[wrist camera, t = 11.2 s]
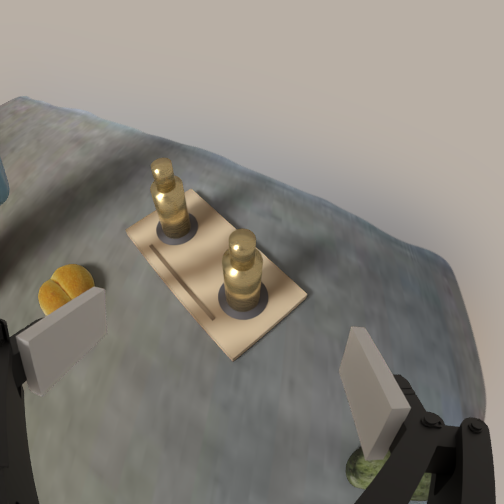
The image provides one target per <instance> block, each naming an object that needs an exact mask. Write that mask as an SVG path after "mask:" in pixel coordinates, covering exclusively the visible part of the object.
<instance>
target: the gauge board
mask: <svg viewBox="0 0 504 504" xmlns="http://www.w3.org/2000/svg"><path fill="white" fill-rule="evenodd" d="M184 194H185V199H186V204H187V209H188V214H189V219H190V223H191V228H190V231H189V232H188V233H187V234H186V235H185V236H184V237H181V238H178V239H172V238H169V237H167V236H166V235H165V234H164V232H163V229H162V226H161V223H160V220H159V217H158V214H157V210H155V211H154V212H152V213H151V214H149V215H148V216H146V217H144V218H143V219H141V220H140V221H138V222H137V223H135V224H134V225H132V226H131V227H129V228H128V229H126V232H127V234H128V236H129V237H130V238H131V240H132V241H133V242H134V244H135V245H136V246H137V248H138V249H139V250H140V252H141V253H142V254H143V256H144V257H145V258H146V260H147V261H148V262H149V263H150V265H151V266H152V267H153V269H154V270H155V271H156V272H157V274H158V275H159V276H160V277H161V279H162V280H163V281H164V282H165V284H166V285H167V286H168V287H169V289H170V290H171V291H172V292H173V293H174V295H175V296H176V297H177V298H178V299H179V301H180V302H181V303H182V304H183V305H184V307H185V308H186V309H187V310H188V311H189V313H190V314H191V315H192V316H193V317H194V318H195V320H196V321H197V322H198V323H199V324H200V325H201V327H202V328H203V329H204V330H205V331H206V332H207V333H208V335H209V336H210V337H211V338H212V339H213V340H214V341H215V342H216V344H217V345H218V346H219V347H220V348H221V349H222V350H223V351H224V352H225V354H226V355H227V356H228V357H229V358H230V359H231V360H232V361H234V360H236V359H237V358H238V357H239V356H240V355H242V354H243V353H244V352H245V351H246V350H248V349H249V348H250V347H251V346H252V345H254V344H255V343H256V342H257V341H258V340H259V339H261V338H262V337H263V336H264V335H265V334H266V333H268V332H269V331H270V330H271V329H272V328H273V327H274V326H276V325H277V324H278V323H279V322H280V321H281V320H282V319H284V318H285V317H286V316H287V315H288V314H289V313H290V312H291V311H292V310H294V309H295V308H296V307H297V306H298V305H299V304H300V303H301V302H302V301H304V300H305V299H306V297H307V293H306V292H304V291H303V290H302V289H301V288H300V287H299V286H298V285H297V284H296V283H295V282H294V281H292V280H291V279H290V278H289V277H288V276H287V275H286V274H285V273H284V272H283V271H281V270H280V269H279V268H278V267H277V266H276V265H275V264H274V263H273V262H272V261H271V260H269V259H268V258H267V257H266V256H265V255H264V254H263V253H262V252H261V251H260V250H259V252H260V253H261V255H262V257H263V268H262V278H261V288H260V298H259V302H258V304H257V306H256V307H255V308H254V309H252V310H250V311H247V312H238V311H235V310H233V309H232V308H231V307H230V306H229V305H228V303H227V301H226V294H225V286H224V277H223V268H222V257H223V255H224V253H225V251H226V250H227V249H229V236H230V234H231V233H232V232H233V231H235V230H236V229H235V228H234V227H233V226H232V225H231V224H230V223H229V222H228V221H226V220H225V219H224V218H223V217H222V216H221V215H220V214H219V213H218V212H217V211H215V210H214V209H213V208H212V207H211V206H210V205H209V204H208V203H207V202H205V201H204V200H203V199H202V198H201V197H200V196H199V195H198V194H197V193H195V192H194V191H193V190H192V189H190V190H188V191H186V192H185V193H184ZM256 249H257V248H256Z"/></svg>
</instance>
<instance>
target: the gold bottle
mask: <svg viewBox="0 0 504 504" xmlns="http://www.w3.org/2000/svg"><path fill="white" fill-rule="evenodd" d="M151 170H152V173H153V177H154V182H153V183H152V185H151V188H150V191H151V194H152V197H153V201H154V204H155V207H156V210H157V214H158V217H159V220H160V223H161V226H162V229H163V232H164V234H165V235H166V236H167V237H169V238H172V239H178V238H181V237H184V236H185V235H186V234H187V233H188V232H189V231H190V228H191V223H190V219H189V214H188V209H187V204H186V199H185V194H184V189H183V184H182V180H181V179H180V178H179V177H177V176H174V173H173V168H172V163H171V160H170V159H168V158H159V159H156V160H155V161H153V162H152V164H151Z"/></svg>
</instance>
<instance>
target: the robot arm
mask: <svg viewBox="0 0 504 504" xmlns="http://www.w3.org/2000/svg"><path fill="white" fill-rule="evenodd" d="M8 195H9V184H8V180H7V176H6V173H5V170H4V167H3V164H2V161H1V158H0V205H1V204H3V203H4V202H5V201H6V199H7V198H8ZM106 334H107V319H106V300H105V289H103V288H98V287H92V288H91V289H89V290H87V291H86V292H84V293H82V294H81V295H79V296H78V297H76V298H74V299H73V300H71V301H70V302H68V303H66V304H65V305H63V306H62V307H60V308H58V309H57V310H55V311H54V312H52V313H51V314H49V315H47V316H46V317H44V318H41V319H38V320H36V321H34V322H32V323H31V324H30V325H28V326H26V327H25V329H24V328H23V329H22V330H20V331H19V332H17V333H16V334H14V335H12V336H11V337H9V333H8V328H7V323H6V321H5V320H3V319H0V504H39V501H38V496H37V492H36V488H35V483H34V478H33V473H32V467H31V461H30V454H29V447H28V440H27V431H26V420H25V406H24V390H23V387H22V384H23V383H24V382H25V381H26V380H27V383H28V387H29V390H30V391H31V392H33V393H35V394H37V395H39V396H41V397H43V396H44V395H45V394H46V393H47V392H48V391H49V390H50V389H51V388H52V387H53V386H54V385H55V384H56V383H57V382H58V381H59V380H60V379H61V378H62V377H63V376H64V375H65V374H66V373H67V372H68V371H69V370H70V369H71V368H72V367H73V366H74V365H75V364H76V363H77V362H78V361H79V360H80V359H81V358H82V357H83V356H84V355H85V354H86V353H88V352H89V351H90V350H91V349H92V348H93V347H94V346H95V345H96V344H97V343H98V342H99V341H100V340H101V339H102V338H103V337H104V336H105V335H106ZM339 373H340V377H341V380H342V383H343V386H344V389H345V393H346V396H347V399H348V402H349V406H350V409H351V412H352V416H353V419H354V422H355V426H356V429H357V433H358V436H359V440H360V443H361V447H362V450H363V454H364V457H365V461H367V460H382V459H384V457H385V455H386V454H387V452H388V450H390V453H391V455H390V457H389V458H388V459H387V461H386V462H385V464H384V465H383V467H382V468H381V470H380V471H379V472H378V474H377V475H376V476H375V478H374V479H373V480H372V482H371V483H370V484H369V486H368V487H367V488H366V490H365V491H364V492H363V493H362V495H361V496H360V497H359V498H358V500H357V501H356V502H355V503H354V504H408V503H409V501H410V499H411V498H412V496H413V494H414V492H415V490H416V489H417V487H418V485H419V483H420V481H421V479H422V477H423V475H424V473H432V474H431V482H430V488H429V495H428V501H427V504H496V496H495V478H494V465H493V455H492V447H491V440H490V434H489V429H488V426H487V425H486V424H485V423H484V422H483V421H481V420H480V419H477V418H470V417H469V418H466V419H465V420H463V422H462V423H461V425H460V427H455V426H447V425H445V424H444V421H443V420H442V419H441V418H440V417H439V416H438V415H436V414H434V413H431V412H426V410H425V409H424V407H423V405H422V404H421V402H420V400H419V399H418V397H417V395H415V392H414V390H413V389H412V387H411V385H410V384H409V382H408V381H407V380H406V379H405V378H404V377H402V376H401V375H392V373H391V371H390V369H389V368H388V366H387V364H386V362H385V361H384V359H383V357H382V355H381V354H380V352H379V350H378V349H377V347H376V345H375V344H374V342H373V340H372V338H371V337H370V335H369V333H368V332H367V330H366V328H364V327H352V326H351V330H350V333H349V337H348V341H347V344H346V348H345V351H344V355H343V358H342V362H341V365H340V369H339Z"/></svg>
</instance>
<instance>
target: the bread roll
mask: <svg viewBox="0 0 504 504" xmlns="http://www.w3.org/2000/svg"><path fill="white" fill-rule="evenodd" d="M92 287H95V285H94V280H93V277H92V275H91V274H90V273H89V271H87V270H86V269H85V268H84V267H82V266H80V265H77V264H69V265H65V266H62V267H60V268H58V269H57V270H56V271H55V272H54V274H53V275H52V277H51V279H50V280H48V281H46V282H45V283H43V285H42V286H41V287H40V290H39V294H38V298H39V303H40V307H41V309H42V310H43V312H44V313H45V315H46V316H47V315H49V314H51V313H52V312H54V311H55V310H57V309H58V308H60V307H62V306H63V305H65V304H66V303H68V302H70V301H71V300H73V299H74V298H76V297H78V296H79V295H81V294H82V293H84V292H86V291H87V290H89V289H91V288H92Z"/></svg>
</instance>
